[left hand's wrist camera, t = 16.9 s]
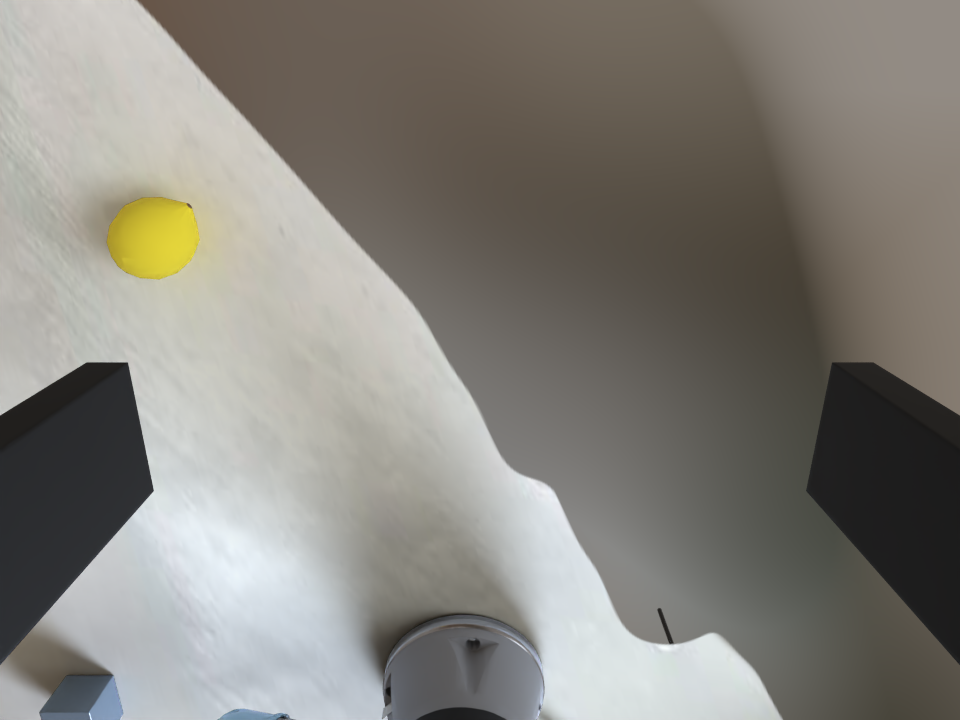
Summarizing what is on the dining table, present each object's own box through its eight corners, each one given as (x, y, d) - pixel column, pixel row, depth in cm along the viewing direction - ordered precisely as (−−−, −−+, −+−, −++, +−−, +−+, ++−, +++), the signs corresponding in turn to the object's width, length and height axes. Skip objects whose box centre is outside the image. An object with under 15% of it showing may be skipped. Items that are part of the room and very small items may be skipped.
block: (113, 674, 63) (88, 712, 59) (123, 713, 64) (100, 752, 60) (66, 675, 63) (38, 712, 59) (77, 713, 64) (51, 752, 60)
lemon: (165, 287, 49) (129, 306, 44) (111, 229, 48) (68, 242, 43) (232, 232, 48) (202, 245, 43) (179, 171, 46) (142, 177, 41)
